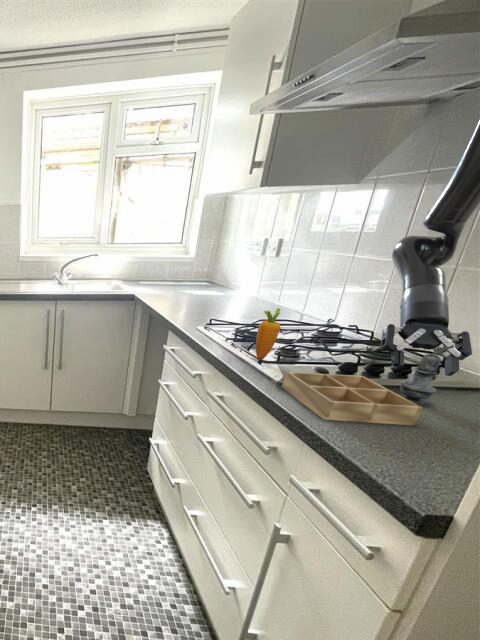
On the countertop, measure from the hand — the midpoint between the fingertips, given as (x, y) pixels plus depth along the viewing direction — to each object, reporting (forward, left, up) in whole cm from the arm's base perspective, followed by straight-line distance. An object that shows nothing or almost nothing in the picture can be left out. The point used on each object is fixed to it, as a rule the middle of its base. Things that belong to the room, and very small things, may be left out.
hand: (424, 370), depth 92 cm
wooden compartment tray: (+11, +14, -7) cm, 19 cm away
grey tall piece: (0, 0, -7) cm, 7 cm away
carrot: (+31, -5, -7) cm, 32 cm away
